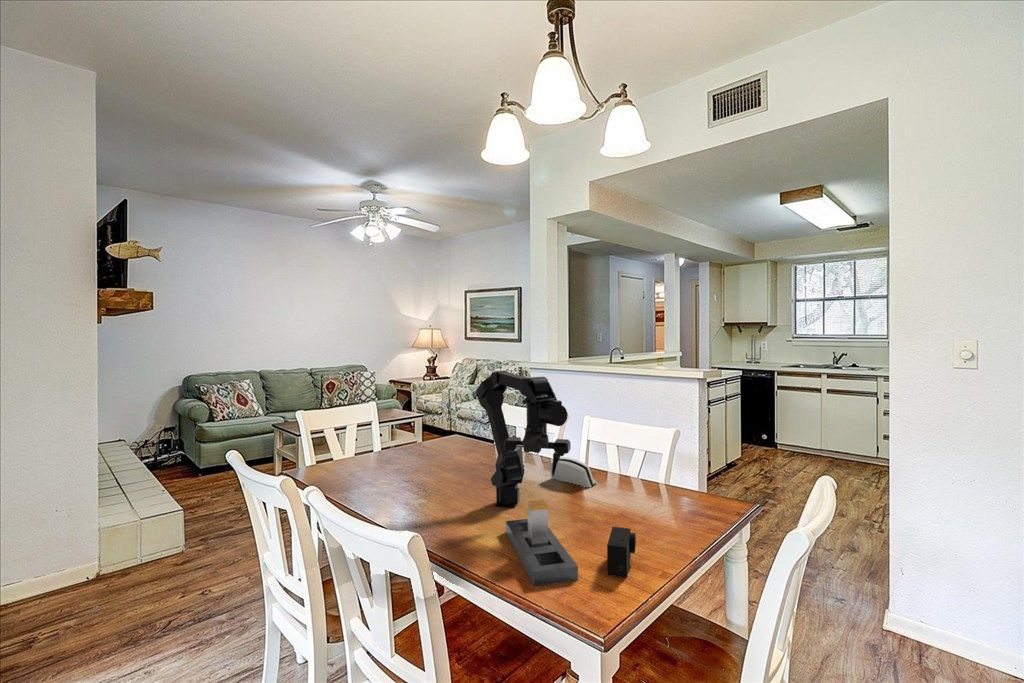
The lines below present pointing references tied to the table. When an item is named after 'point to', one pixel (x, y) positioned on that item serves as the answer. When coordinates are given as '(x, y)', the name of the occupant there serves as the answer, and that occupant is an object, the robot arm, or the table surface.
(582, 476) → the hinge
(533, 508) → the grey square peg
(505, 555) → the table surface
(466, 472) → the table surface
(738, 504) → the table surface
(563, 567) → the gray slotted board
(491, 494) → the table surface
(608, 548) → the digital camera
